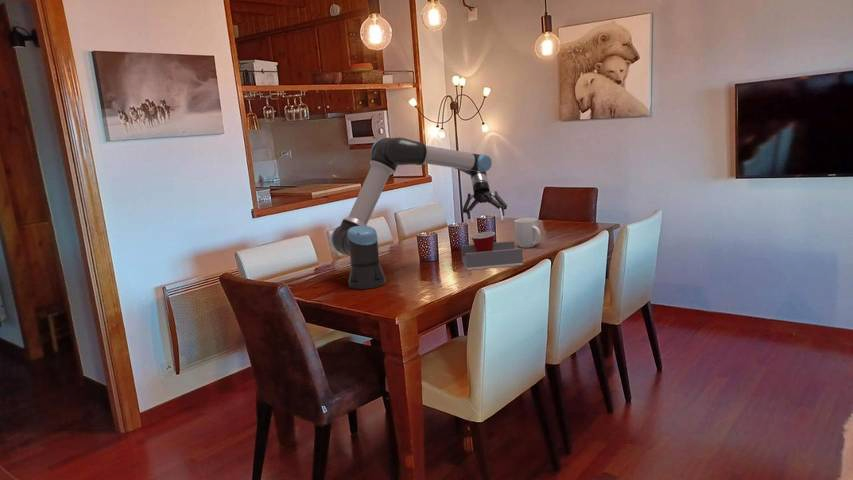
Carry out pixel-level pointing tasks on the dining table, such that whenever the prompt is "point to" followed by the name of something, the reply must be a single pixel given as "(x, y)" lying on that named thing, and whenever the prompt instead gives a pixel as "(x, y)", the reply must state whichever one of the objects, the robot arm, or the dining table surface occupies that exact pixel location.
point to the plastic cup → (483, 241)
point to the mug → (527, 232)
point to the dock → (492, 256)
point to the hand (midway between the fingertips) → (487, 222)
